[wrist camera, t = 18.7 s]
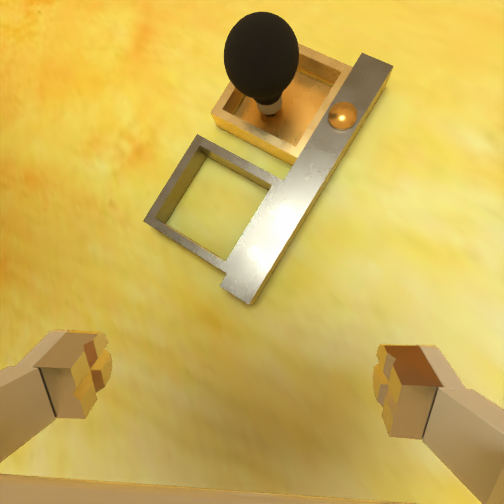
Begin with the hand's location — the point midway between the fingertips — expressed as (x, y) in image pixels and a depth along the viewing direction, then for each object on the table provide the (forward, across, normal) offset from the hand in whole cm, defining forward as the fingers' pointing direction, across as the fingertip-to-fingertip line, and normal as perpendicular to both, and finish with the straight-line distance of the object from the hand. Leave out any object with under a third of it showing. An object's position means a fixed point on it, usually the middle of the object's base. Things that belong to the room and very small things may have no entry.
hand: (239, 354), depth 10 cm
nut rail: (+25, 0, -2) cm, 25 cm away
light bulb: (+28, 0, -6) cm, 29 cm away
